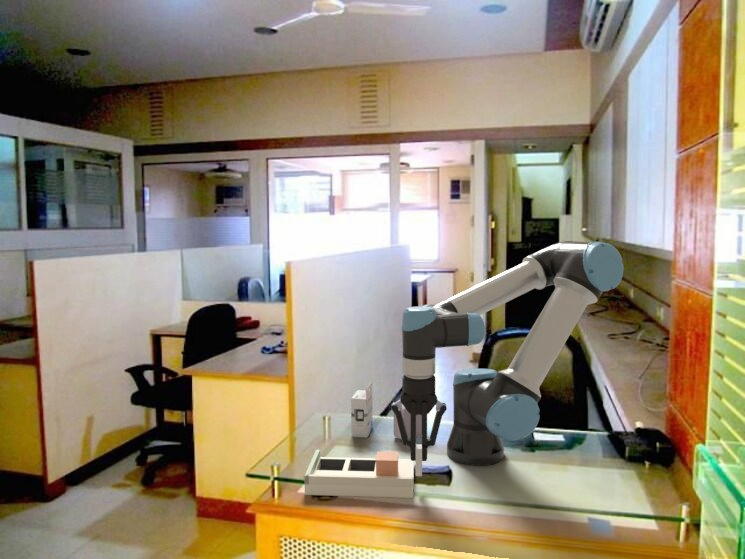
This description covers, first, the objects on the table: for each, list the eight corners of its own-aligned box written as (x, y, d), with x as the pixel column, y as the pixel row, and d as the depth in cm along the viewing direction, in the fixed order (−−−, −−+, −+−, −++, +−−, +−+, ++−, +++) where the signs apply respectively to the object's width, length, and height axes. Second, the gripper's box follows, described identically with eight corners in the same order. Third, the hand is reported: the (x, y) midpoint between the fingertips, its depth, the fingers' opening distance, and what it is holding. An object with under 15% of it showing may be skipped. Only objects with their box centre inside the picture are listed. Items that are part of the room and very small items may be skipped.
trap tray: (413, 468, 138) (413, 451, 138) (413, 497, 123) (413, 478, 123) (316, 466, 140) (316, 449, 140) (304, 494, 125) (304, 476, 125)
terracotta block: (398, 471, 131) (398, 451, 130) (397, 481, 126) (397, 460, 125) (377, 471, 131) (377, 451, 131) (376, 480, 126) (375, 460, 126)
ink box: (357, 426, 168) (357, 379, 166) (373, 427, 167) (372, 380, 165) (350, 437, 159) (350, 388, 158) (367, 438, 158) (366, 388, 157)
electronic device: (413, 429, 165) (413, 397, 164) (425, 433, 162) (425, 400, 161) (391, 438, 158) (391, 404, 157) (403, 442, 155) (403, 408, 154)
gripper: (446, 370, 128) (445, 467, 130) (391, 369, 129) (391, 465, 131) (448, 379, 120) (447, 481, 122) (389, 378, 121) (390, 480, 123)
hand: (418, 473), depth 127 cm, fingers closed
